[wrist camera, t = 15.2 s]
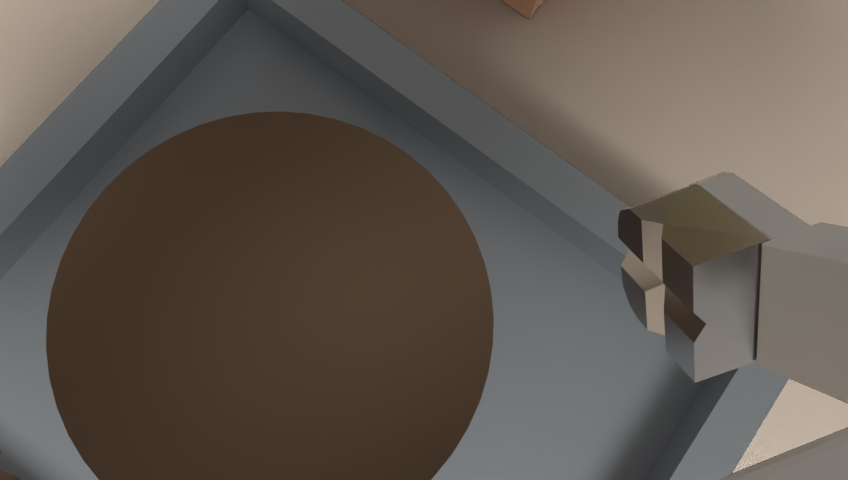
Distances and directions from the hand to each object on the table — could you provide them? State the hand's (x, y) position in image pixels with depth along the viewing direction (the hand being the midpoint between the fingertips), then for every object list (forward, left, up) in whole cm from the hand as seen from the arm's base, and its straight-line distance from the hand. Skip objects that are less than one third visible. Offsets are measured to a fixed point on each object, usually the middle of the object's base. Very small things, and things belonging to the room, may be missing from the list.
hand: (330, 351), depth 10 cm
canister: (0, 0, -8) cm, 8 cm away
